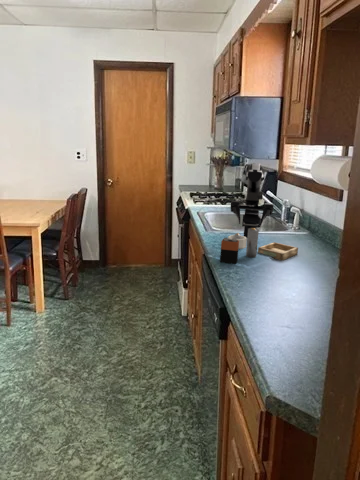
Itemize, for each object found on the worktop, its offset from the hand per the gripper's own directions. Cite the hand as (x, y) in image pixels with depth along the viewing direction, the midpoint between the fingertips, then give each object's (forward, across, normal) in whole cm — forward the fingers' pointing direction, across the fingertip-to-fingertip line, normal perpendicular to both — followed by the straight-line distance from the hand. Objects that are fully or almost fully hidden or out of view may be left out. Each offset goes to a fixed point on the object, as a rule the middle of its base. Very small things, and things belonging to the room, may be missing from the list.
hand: (250, 224), depth 179 cm
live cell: (+15, +2, +2) cm, 15 cm away
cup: (+6, -5, +12) cm, 15 cm away
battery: (+21, -7, -4) cm, 22 cm away
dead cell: (+6, -5, +12) cm, 14 cm away
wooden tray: (+9, +13, +9) cm, 18 cm away
